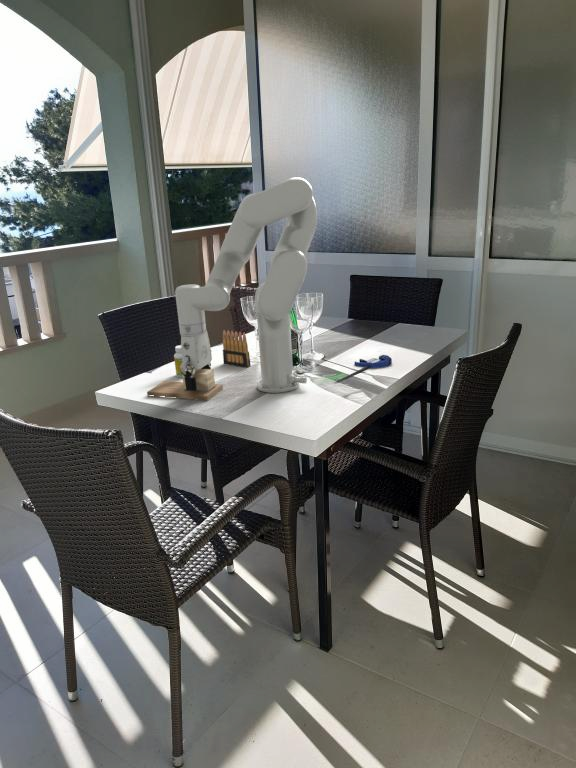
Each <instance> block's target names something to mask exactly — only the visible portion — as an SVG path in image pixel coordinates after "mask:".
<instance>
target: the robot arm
mask: <svg viewBox="0 0 576 768" xmlns="http://www.w3.org/2000/svg"><path fill="white" fill-rule="evenodd" d="M317 209H318V208H317V204H316V202H315V199H314V190H313V188H312V185H311V184H310V182H309V181H307V180H306V179H304V178H303V177H297V176H296V177H295V176H293V177H289V178H287V179H285V180H283V181H282V182H281V183H278V184H276V185H274V186H271V187H269V188H267V189H264V190H262V191H259V192H255V193H251V194H248V195H246V196H244V198H243V199H242V200H241V202H240V204H239V206H238V208H237V210H236V213H235V214H234V218H233V220H232V221H231V224H230V227H229V228H228V231H227V233H226V235H225V237H224V240H223V242H222V244H221V247H220V250H219V253H218V255H217V258H216V261H215V263H214V265H213V267H212V270H211V272H210V274H209V276H208V278H207V281H206V283H205V285H204V286H200V285H199V284H194V283H193V284H191V283H190V284H183V285H179V286H177V287H176V289H175V293H174V294H175V301H176V302H175V303H176V309H177V310H176V311H177V318H178V328H179V335H180V337H181V338H180V345H181V352H182V364H181V366H180V369H181V371H182V374H183V377H184V378H185V384H186V390H189V391H196V390H197V387H196V378H195V377H194V374H195V370H199V369H212V368H211V366H212V363H211V362H212V360H213V356H212V349H211V343H210V338H209V334H208V331H207V324H206V314H205V311H210V312H219V311H223V310H224V309H226V308H227V307H228V306H229V304H230V301H231V295H230V294H231V291H232V289H233V287H234V286H235V285H234V284H236V280H237V278H238V276H239V275H240V272H241V270H242V269H243V268H244V266H245V265H246V264H247V262H249V260H250V258H251V257H252V255H253V252H254V251H255V248H256V246H257V244H258V242H259V239H260V237H261V235H262V233H263V231H264V228H265V226H268V225H270V224H274V223H276V222H279V221H280V220H283V219H285V218H286V221H285V224H284V227H283V230H282V232H281V235H280V238H279V240H278V242H277V244H276V247H275V249H274V251H273V253H272V255H271V258H270V264H269V265H270V269H269V272H268V274H267V276H266V279H265V281H263V282H261V284H260V285H259V286H258V287H257V288H256V291H255V294H254V306H255V311H256V313H255V314H256V323H257V324H256V325H257V333H258V335H257V336H258V346H259V347H258V348H259V360H260V372H261V380H259V381H258V382H257V383H256V388H257V390H258V391H260V392H263V393H268V394H279V393H287V392H290V391H294V390H296V389H297V388H298V387H299V386H300V384H307V382H308V381H307V380H308V379H307V377H306V375H305V374H298V373H297V370H296V369H293V368H294V366H293V365H294V363H293V362H294V361H293V348H292V347H293V346H292V328H291V327H292V326H291V315H290V312H291V311H292V309H293V306H294V304H295V301H296V300H297V297H298V295H299V292H300V290H301V288H302V285H303V283H304V281H305V279H306V275H307V272H308V271H307V270H308V260H307V258H306V257H307V253H308V251H309V249H310V246H311V244H312V240H313V238H314V236H315V232H316V230H317V227H318V226H317V225H318V210H317ZM191 366H192V367H191ZM188 370H192V371H191V373H190V372H189V371H188ZM183 377H182V378H183Z"/></svg>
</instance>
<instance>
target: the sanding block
mask: <svg viewBox="0 0 576 768" xmlns="http://www.w3.org/2000/svg"><path fill="white" fill-rule="evenodd" d="M188 371H189V372H190V373H191V371H192V370H188ZM194 377H195V378H196V387H197V390H196V392H210V391H211V390H212V389H214V388H215V384H216V382H215V381H216V379H215V371H214V369H212V368H211V369H199V370H195V374H194ZM181 378H182V382H183V385H184V391H189V390H186V384H185V378H184V377H183V374H182V377H181Z"/></svg>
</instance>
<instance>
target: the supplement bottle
mask: <svg viewBox="0 0 576 768" xmlns="http://www.w3.org/2000/svg"><path fill="white" fill-rule="evenodd" d="M174 348H175V349H174V350H175V351H174V352H175V353H174V355H173V360H174V366H175V375H176V377H177V378H183V377H182V371H181V369H180V366H181V364H182V352H181V344H180V345H176V346H175V347H174ZM191 367H192V366H191Z"/></svg>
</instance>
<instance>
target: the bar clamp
mask: <svg viewBox="0 0 576 768" xmlns="http://www.w3.org/2000/svg"><path fill="white" fill-rule="evenodd" d="M358 360H359V361H354V366H356V367H362V368H360V369H358V370H356V371H354V372H351V373H350V374H348V375H345V377H343V378H341V379H338V380H337V381H335V382H332V384H334V385H336V384H338V383H340V382H343V381H345V380H348V379H349V378H351V377H353V376H355V375H356V374H359V373H361V372H363V371H365V370H367V369H377V368H378V369H379V368H384V367H388V366H391V365H392V364H393V363H392V361H393V360H392V358H391V356H389V355H387V354H382V355H381V354H380V355H379V356H378V358H375V357H374V358H370V359H367V360H365V359H362V358H359V359H358Z"/></svg>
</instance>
